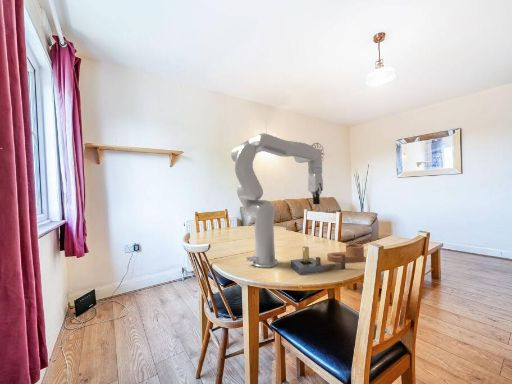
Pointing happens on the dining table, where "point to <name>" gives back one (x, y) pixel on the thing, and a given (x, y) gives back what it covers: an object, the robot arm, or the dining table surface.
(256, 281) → the dining table surface
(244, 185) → the robot arm
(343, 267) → the brown drawer handle
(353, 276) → the dining table surface
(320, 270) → the collar block
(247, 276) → the dining table surface
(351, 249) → the bracket
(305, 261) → the pin
